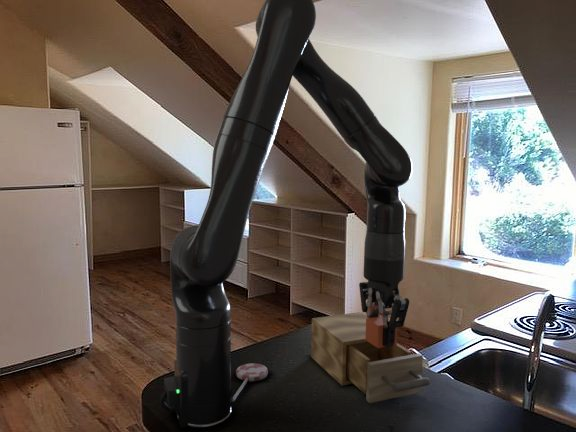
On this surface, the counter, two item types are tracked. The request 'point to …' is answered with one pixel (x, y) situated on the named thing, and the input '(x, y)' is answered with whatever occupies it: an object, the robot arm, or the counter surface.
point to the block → (376, 331)
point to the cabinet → (336, 341)
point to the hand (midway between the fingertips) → (380, 340)
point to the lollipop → (250, 374)
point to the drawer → (384, 371)
